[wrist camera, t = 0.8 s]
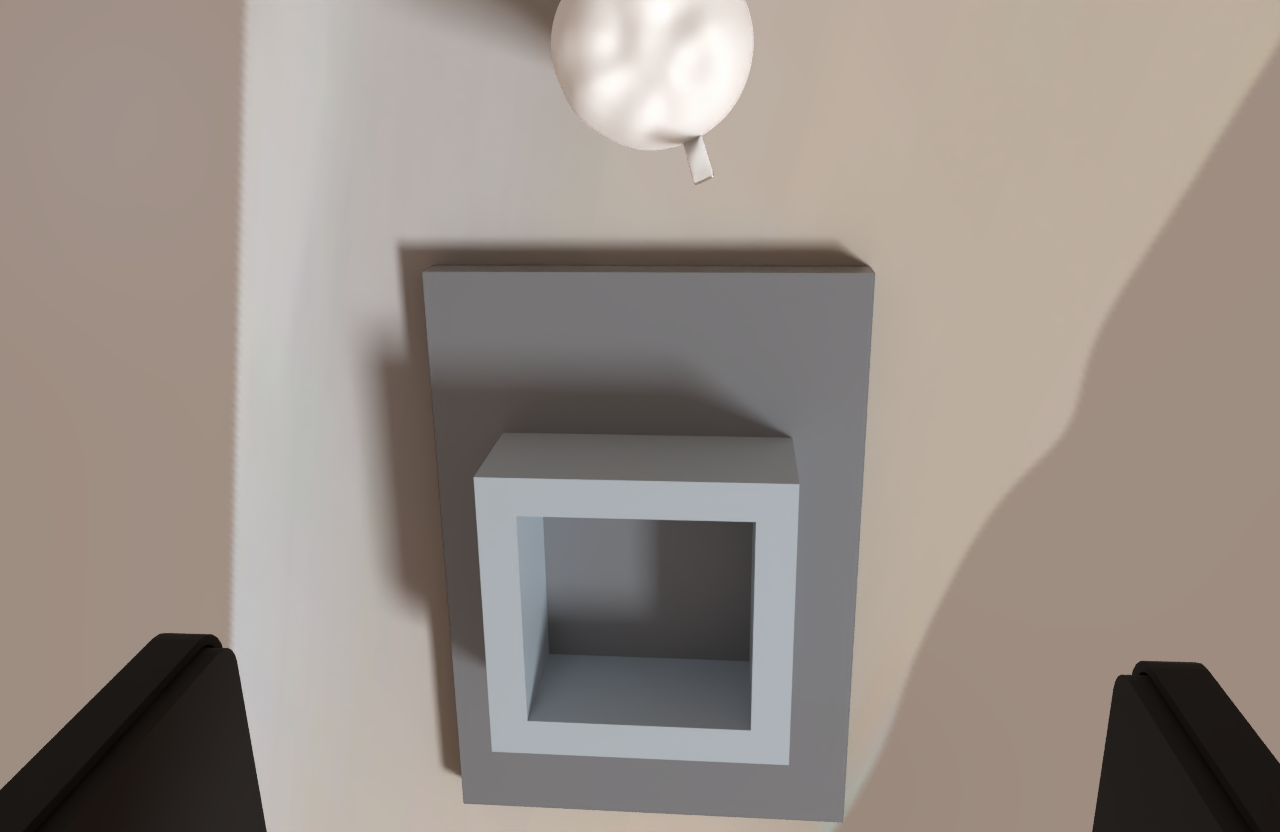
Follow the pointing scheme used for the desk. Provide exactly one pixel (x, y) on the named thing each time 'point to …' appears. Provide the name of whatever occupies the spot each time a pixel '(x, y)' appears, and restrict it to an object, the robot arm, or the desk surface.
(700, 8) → the milkshake
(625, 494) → the housing
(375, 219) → the desk surface
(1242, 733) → the robot arm
